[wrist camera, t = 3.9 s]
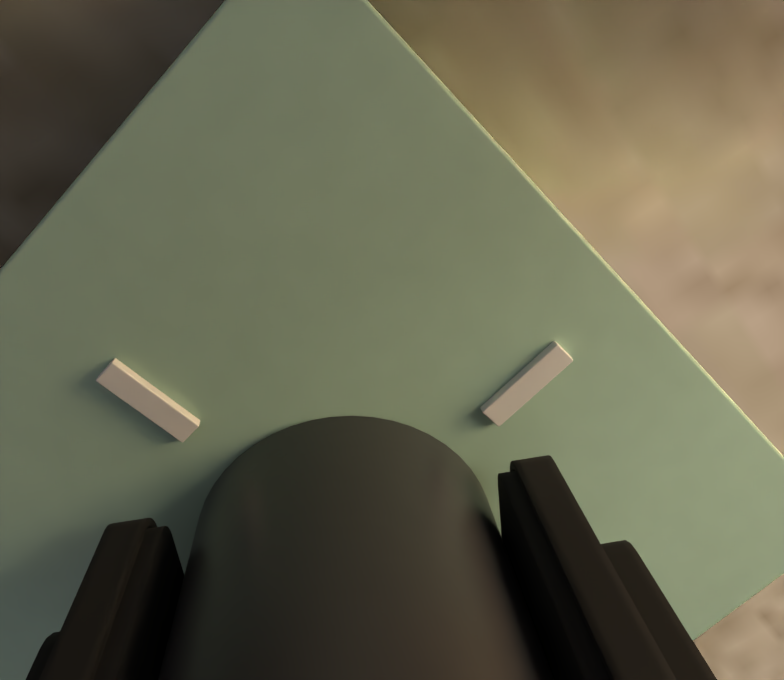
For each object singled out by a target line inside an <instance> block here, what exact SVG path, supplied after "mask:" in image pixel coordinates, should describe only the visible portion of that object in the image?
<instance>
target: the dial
mask: <svg viewBox="0 0 784 680" xmlns="http://www.w3.org/2000/svg"><path fill="white" fill-rule="evenodd" d="M158 680H554V679H553V676H552V673H551V671H550V668H549V665H548V662H547V660H546V657H545V654H544V652H543V649H542V646H541V643H540V641H539V638H538V635H537V633H536V630H535V627H534V624H533V622H532V619H531V616H530V614H529V611H528V608H527V605H526V603H525V600H524V597H523V595H522V592H521V589H520V586H519V584H518V581H517V578H516V576H515V573H514V570H513V567H512V565H511V562H510V559H509V556H508V554H507V551H506V548H505V546H504V543H503V540H502V537H501V535H500V532H499V529H498V527H497V524H496V521H495V518H494V516H493V513H492V510H491V508H490V505H489V502H488V499H487V497H486V495H485V492H484V490H483V488H482V486H481V484H480V482H479V480H478V479H477V477H476V476H475V474H474V473H473V471H472V470H471V468H470V467H469V466H468V465H467V464H466V463H465V462H464V461H463V459H462V458H461V457H460V456H459V455H458V454H456V453H455V452H454V451H453V450H452V449H450V448H449V447H448V446H447V445H446V444H444V443H442V442H441V441H439V440H437V439H436V438H434V437H433V436H431V435H429V434H427V433H425V432H423V431H421V430H418V429H416V428H414V427H412V426H409V425H405V424H402V423H399V422H396V421H393V420H387V419H382V418H376V417H366V416H336V417H327V418H321V419H315V420H310V421H307V422H303V423H300V424H296V425H293V426H290V427H288V428H285V429H283V430H280V431H278V432H276V433H273V434H271V435H270V436H268V437H266V438H264V439H263V440H261V441H259V442H257V443H256V444H254V445H253V446H251V447H250V448H249V449H248V450H246V451H245V452H244V453H242V454H241V455H240V456H238V457H237V458H236V459H235V460H234V461H233V462H232V463H231V464H230V465H229V466H228V467H227V468H226V469H225V470H224V472H223V473H222V474H221V476H220V477H219V478H218V480H217V481H216V482H215V483H214V485H213V487H212V488H211V490H210V492H209V494H208V496H207V498H206V499H205V502H204V505H203V507H202V510H201V513H200V516H199V520H198V523H197V527H196V531H195V535H194V539H193V543H192V547H191V551H190V555H189V559H188V563H187V567H186V571H185V575H184V579H183V583H182V587H181V591H180V595H179V599H178V603H177V607H176V611H175V615H174V619H173V623H172V627H171V631H170V635H169V639H168V643H167V646H166V650H165V654H164V658H163V662H162V666H161V670H160V674H159V678H158Z"/></svg>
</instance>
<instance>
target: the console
mask: <svg viewBox="0 0 784 680" xmlns="http://www.w3.org/2000/svg"><path fill="white" fill-rule="evenodd" d="M336 416H366V417H376V418H382V419H387V420H393V421H396V422H399V423H402V424H405V425H409V426H412V427H414V428H416V429H418V430H421V431H423V432H425V433H427V434H429V435H431V436H433V437H434V438H436V439H437V440H439V441H441V442H442V443H444V444H446V445H447V446H448V447H449V448H450V449H452V450H453V451H454V452H455V453H456V454H458V455H459V456H460V457H461V458H462V459H463V461H464V462H465V463H466V464H467V465H468V466H469V467H470V468H471V470H472V471H473V473H474V474H475V476H476V477H477V479H478V480H479V482H480V484H481V486H482V488H483V490H484V492H485V495H486V497H487V499H488V502H489V505H490V508H491V510H492V513H493V516H494V518H495V521H496V524H497V527H498V529H499V532H500V535H501V522H500V508H499V494H498V474H499V473H504V472H510V463H511V461H514V460H520V459H527V458H533V457H539V456H546V455H550V456H551V457H552V458H553V460H554V461H555V463H556V465H557V467H558V468H559V470H560V472H561V474H562V476H563V477H564V479H565V481H566V483H567V485H568V486H569V488H570V490H571V492H572V493H573V495H574V497H575V499H576V501H577V502H578V504H579V506H580V508H581V510H582V511H583V513H584V515H585V517H586V519H587V520H588V522H589V524H590V526H591V527H592V529H593V531H594V533H595V535H596V536H597V538H598V540H599V542H600V544H603V543H609V542H615V541H622V540H626V541H628V542H630V543H631V544H632V545H633V547H634V548H635V549H636V551H637V552H638V554H639V555H640V557H641V558H642V560H643V562H644V563H645V565H646V567H647V568H648V570H649V571H650V573H651V575H652V576H653V578H654V579H655V581H656V583H657V584H658V586H659V587H660V589H661V591H662V592H663V594H664V595H665V597H666V599H667V600H668V602H669V603H670V605H671V607H672V608H673V610H674V612H675V613H676V615H677V616H678V618H679V620H680V621H681V623H682V624H683V626H684V628H685V629H686V631H687V632H688V634H689V636H690V637H691V639H692V640H695V639H696V638H697V637H699V636H700V635H701V634H703V633H704V632H705V631H707V630H708V629H709V628H711V627H712V626H713V625H715V624H716V623H718V622H719V621H720V620H722V619H723V618H724V617H726V616H727V615H728V614H730V613H731V612H732V611H734V610H735V609H736V608H738V607H739V606H740V605H742V604H743V603H745V602H746V601H747V600H749V599H750V598H751V597H753V596H754V595H755V594H757V593H758V592H759V591H761V590H762V589H763V588H765V587H766V586H767V585H769V584H770V583H771V582H773V581H774V580H776V579H777V578H778V577H780V576H781V575H782V574H784V456H783V455H782V454H781V453H780V452H779V451H778V450H777V448H776V447H775V446H774V445H773V444H772V443H771V442H770V441H769V440H768V439H767V437H766V436H765V435H764V434H763V433H762V432H761V431H760V430H759V429H758V428H757V427H756V425H755V424H754V423H753V422H752V421H751V420H750V419H749V418H748V417H747V416H746V414H745V413H744V412H743V411H742V410H741V409H740V408H739V407H738V406H737V405H736V404H735V402H734V401H733V400H732V399H731V398H730V397H729V396H728V395H727V394H726V393H725V391H724V390H723V389H722V388H721V387H720V386H719V385H718V384H717V383H716V382H715V380H714V379H713V378H712V377H711V376H710V375H709V374H708V373H707V372H706V371H705V370H704V368H703V367H702V366H701V365H700V364H699V363H698V362H697V361H696V360H695V359H694V357H693V356H692V355H691V354H690V353H689V352H688V351H687V350H686V349H685V348H684V347H683V345H682V344H681V343H680V342H679V341H678V340H677V339H676V338H675V337H674V336H673V334H672V333H671V332H670V331H669V330H668V329H667V328H666V327H665V326H664V325H663V324H662V322H661V321H660V320H659V319H658V318H657V317H656V316H655V315H654V314H653V313H652V311H651V310H650V309H649V308H648V307H647V306H646V305H645V304H644V303H643V302H642V300H641V299H640V298H639V297H638V296H637V295H636V294H635V293H634V292H633V291H632V290H631V288H630V287H629V286H628V285H627V284H626V283H625V282H624V281H623V280H622V279H621V277H620V276H619V275H618V274H617V273H616V272H615V271H614V270H613V269H612V268H611V267H610V265H609V264H608V263H607V262H606V261H605V260H604V259H603V258H602V257H601V256H600V254H599V253H598V252H597V251H596V250H595V249H594V248H593V247H592V246H591V245H590V244H589V242H588V241H587V240H586V239H585V238H584V237H583V236H582V235H581V234H580V233H579V231H578V230H577V229H576V228H575V227H574V226H573V225H572V224H571V223H570V222H569V220H568V219H567V218H566V217H565V216H564V215H563V214H562V213H561V212H560V211H559V210H558V208H557V207H556V206H555V205H554V204H553V203H552V202H551V201H550V200H549V199H548V197H547V196H546V195H545V194H544V193H543V192H542V191H541V190H540V189H539V188H538V187H537V185H536V184H535V183H534V182H533V181H532V180H531V179H530V178H529V177H528V176H527V174H526V173H525V172H524V171H523V170H522V169H521V168H520V167H519V166H518V165H517V164H516V162H515V161H514V160H513V159H512V158H511V157H510V156H509V155H508V154H507V153H506V151H505V150H504V149H503V148H502V147H501V146H500V145H499V144H498V143H497V142H496V141H495V139H494V138H493V137H492V136H491V135H490V134H489V133H488V132H487V131H486V130H485V128H484V127H483V126H482V125H481V124H480V123H479V122H478V121H477V120H476V119H475V117H474V116H473V115H472V114H471V113H470V112H469V111H468V110H467V109H466V108H465V107H464V105H463V104H462V103H461V102H460V101H459V100H458V99H457V98H456V97H455V96H454V94H453V93H452V92H451V91H450V90H449V89H448V88H447V87H446V86H445V85H444V84H443V82H442V81H441V80H440V79H439V78H438V77H437V76H436V75H435V74H434V73H433V71H432V70H431V69H430V68H429V67H428V66H427V65H426V64H425V63H424V62H423V61H422V59H421V58H420V57H419V56H418V55H417V54H416V53H415V52H414V51H413V50H412V48H411V47H410V46H409V45H408V44H407V43H406V42H405V41H404V40H403V39H402V37H401V36H400V35H399V34H398V33H397V32H396V31H395V30H394V29H393V28H392V27H391V25H390V24H389V23H388V22H387V21H386V20H385V19H384V18H383V17H382V16H381V14H380V13H379V12H378V11H377V10H376V9H375V8H374V7H373V6H372V5H371V4H370V2H369V1H368V0H225V1H224V2H223V3H222V4H221V6H220V7H219V8H218V9H217V10H216V12H215V13H214V14H213V15H212V16H211V18H210V19H209V20H208V21H207V22H206V23H205V25H204V26H203V27H202V28H201V29H200V31H199V32H198V33H197V34H196V35H195V37H194V38H193V39H192V40H191V41H190V43H189V44H188V45H187V46H186V47H185V49H184V50H183V51H182V52H181V53H180V55H179V56H178V57H177V58H176V59H175V61H174V62H173V63H172V64H171V65H170V67H169V68H168V69H167V70H166V71H165V73H164V74H163V75H162V76H161V77H160V79H159V80H158V81H157V82H156V83H155V85H154V86H153V87H152V88H151V89H150V91H149V92H148V93H147V94H146V95H145V97H144V98H143V99H142V100H141V101H140V103H139V104H138V105H137V106H136V107H135V109H134V110H133V111H132V112H131V113H130V115H129V116H128V117H127V118H126V119H125V120H124V122H123V123H122V124H121V125H120V126H119V128H118V129H117V130H116V131H115V132H114V134H113V135H112V136H111V137H110V138H109V140H108V141H107V142H106V143H105V144H104V146H103V147H102V148H101V149H100V150H99V152H98V153H97V154H96V155H95V156H94V158H93V159H92V160H91V161H90V162H89V164H88V165H87V166H86V167H85V168H84V170H83V171H82V172H81V173H80V174H79V176H78V177H77V178H76V179H75V180H74V182H73V183H72V184H71V185H70V186H69V188H68V189H67V190H66V191H65V192H64V194H63V195H62V196H61V197H60V198H59V200H58V201H57V202H56V203H55V204H54V206H53V207H52V208H51V209H50V210H49V211H48V213H47V214H46V215H45V216H44V217H43V219H42V220H41V221H40V222H39V223H38V225H37V226H36V227H35V228H34V229H33V231H32V232H31V233H30V234H29V235H28V237H27V238H26V239H25V240H24V241H23V243H22V244H21V245H20V246H19V247H18V249H17V250H16V251H15V252H14V253H13V255H12V256H11V257H10V258H9V259H8V261H7V262H6V263H5V264H4V265H3V267H2V268H1V269H0V680H26V678H27V675H28V673H29V671H30V669H31V667H32V664H33V662H34V660H35V658H36V656H37V654H38V651H39V649H40V647H41V646H42V644H43V642H44V641H45V639H46V638H47V637H48V636H49V635H51V634H52V633H54V632H60V630H61V628H62V626H63V623H64V621H65V619H66V617H67V614H68V612H69V610H70V608H71V605H72V603H73V601H74V598H75V596H76V594H77V592H78V589H79V587H80V585H81V582H82V580H83V578H84V576H85V573H86V571H87V569H88V566H89V564H90V562H91V560H92V557H93V555H94V553H95V550H96V548H97V546H98V544H99V541H100V539H101V537H102V535H103V532H104V530H105V528H106V527H107V525H109V524H111V523H118V522H124V521H130V520H137V519H143V518H152V519H153V520H154V521H155V522H156V525H157V527H161V526H168V527H169V529H170V531H171V533H172V536H173V539H174V543H175V546H176V549H177V553H178V556H179V559H180V562H181V566H182V569H183V572H184V575H185V571H186V567H187V563H188V559H189V555H190V551H191V547H192V543H193V539H194V535H195V531H196V527H197V523H198V520H199V516H200V513H201V510H202V507H203V505H204V502H205V499H206V498H207V496H208V494H209V492H210V490H211V488H212V487H213V485H214V483H215V482H216V481H217V480H218V478H219V477H220V476H221V474H222V473H223V472H224V470H225V469H226V468H227V467H228V466H229V465H230V464H231V463H232V462H233V461H234V460H235V459H236V458H237V457H238V456H240V455H241V454H242V453H244V452H245V451H246V450H248V449H249V448H250V447H251V446H253V445H254V444H256V443H257V442H259V441H261V440H263V439H264V438H266V437H268V436H270V435H271V434H273V433H276V432H278V431H280V430H283V429H285V428H288V427H290V426H293V425H296V424H300V423H303V422H307V421H310V420H315V419H321V418H327V417H336ZM501 537H502V536H501Z"/></svg>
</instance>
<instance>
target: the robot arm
mask: <svg viewBox="0 0 784 680" xmlns="http://www.w3.org/2000/svg"><path fill="white" fill-rule="evenodd" d="M498 494H499V508H500V522H501V536H502V540H503V543H504V546H505V548H506V551H507V554H508V556H509V559H510V562H511V565H512V567H513V570H514V573H515V576H516V578H517V581H518V584H519V586H520V589H521V592H522V595H523V597H524V600H525V603H526V605H527V608H528V611H529V614H530V616H531V619H532V622H533V624H534V627H535V630H536V633H537V635H538V638H539V641H540V643H541V646H542V649H543V652H544V654H545V657H546V660H547V662H548V665H549V668H550V671H551V673H552V676H553V679H554V680H717V679H716V677H715V676H714V674H713V673H712V671H711V669H710V668H709V666H708V665H707V663H706V661H705V660H704V658H703V656H702V655H701V653H700V652H699V650H698V648H697V647H696V645H695V644H694V642H693V640H692V639H691V637H690V636H689V634H688V632H687V631H686V629H685V628H684V626H683V624H682V623H681V621H680V620H679V618H678V616H677V615H676V613H675V612H674V610H673V608H672V607H671V605H670V603H669V602H668V600H667V599H666V597H665V595H664V594H663V592H662V591H661V589H660V587H659V586H658V584H657V583H656V581H655V579H654V578H653V576H652V575H651V573H650V571H649V570H648V568H647V567H646V565H645V563H644V562H643V560H642V558H641V557H640V555H639V554H638V552H637V551H636V549H635V548H634V547H633V545H632V544H631V543H630V542H628V541H626V540H622V541H615V542H609V543H603V544H600V542H599V540H598V538H597V536H596V535H595V533H594V531H593V529H592V527H591V526H590V524H589V522H588V520H587V519H586V517H585V515H584V513H583V511H582V510H581V508H580V506H579V504H578V502H577V501H576V499H575V497H574V495H573V493H572V492H571V490H570V488H569V486H568V485H567V483H566V481H565V479H564V477H563V476H562V474H561V472H560V470H559V468H558V467H557V465H556V463H555V461H554V460H553V458H552V457H551V456H550V455H546V456H539V457H533V458H527V459H520V460H514V461H511V463H510V472H504V473H499V474H498ZM183 579H184V572H183V569H182V566H181V562H180V559H179V556H178V553H177V549H176V546H175V543H174V539H173V536H172V533H171V531H170V529H169V527H168V526H161V527H157V525H156V522H155V521H154V520H153V519H152V518H143V519H137V520H130V521H124V522H118V523H111V524H109V525H107V527H106V528H105V530H104V532H103V535H102V537H101V539H100V541H99V544H98V546H97V548H96V550H95V553H94V555H93V557H92V560H91V562H90V564H89V566H88V569H87V571H86V573H85V576H84V578H83V580H82V582H81V585H80V587H79V589H78V592H77V594H76V596H75V598H74V601H73V603H72V605H71V608H70V610H69V612H68V614H67V617H66V619H65V621H64V623H63V626H62V628H61V630H60V632H54V633H52V634H51V635H49V636H48V637H47V638H46V639H45V641H44V642H43V644H42V646H41V647H40V649H39V651H38V654H37V656H36V658H35V660H34V662H33V664H32V667H31V669H30V671H29V673H28V675H27V678H26V680H158V678H159V674H160V670H161V666H162V662H163V658H164V654H165V650H166V646H167V643H168V639H169V635H170V631H171V627H172V623H173V619H174V615H175V611H176V607H177V603H178V599H179V595H180V591H181V587H182V583H183Z"/></svg>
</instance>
